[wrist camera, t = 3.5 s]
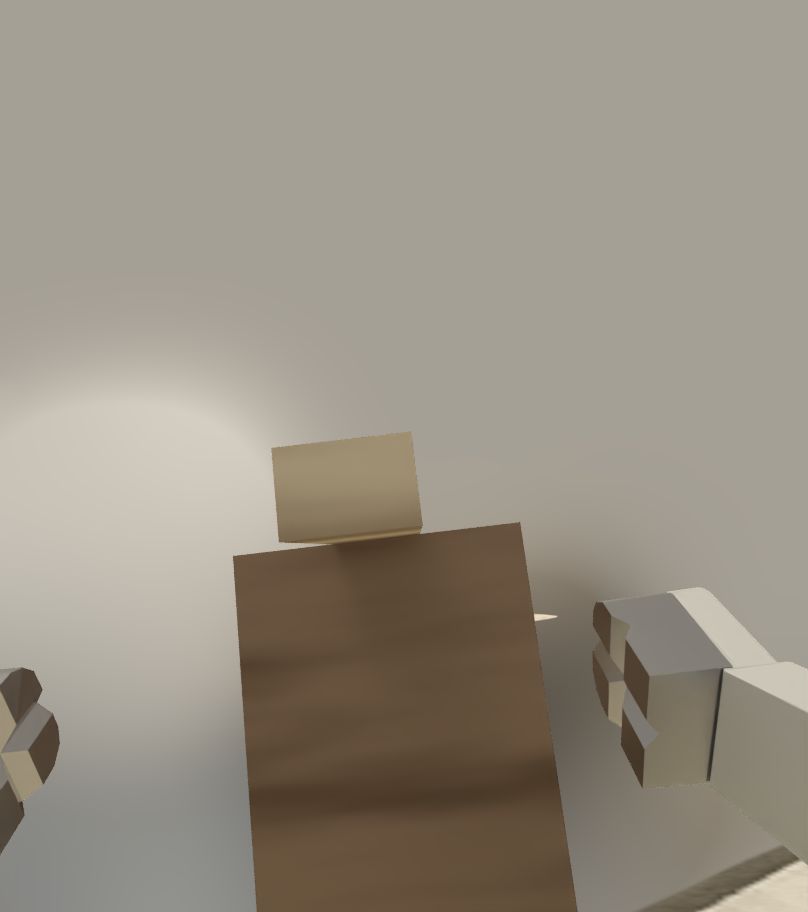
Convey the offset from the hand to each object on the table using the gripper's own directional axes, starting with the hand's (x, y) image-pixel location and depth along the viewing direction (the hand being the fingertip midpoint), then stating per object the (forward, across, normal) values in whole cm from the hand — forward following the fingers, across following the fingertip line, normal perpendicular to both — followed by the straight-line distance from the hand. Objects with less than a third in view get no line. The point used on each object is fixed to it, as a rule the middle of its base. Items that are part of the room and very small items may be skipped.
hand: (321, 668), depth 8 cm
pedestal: (+1, 0, -29) cm, 29 cm away
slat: (+12, 0, -5) cm, 13 cm away
